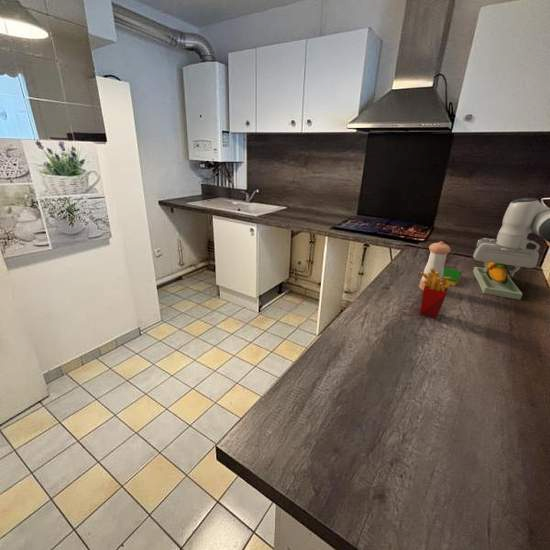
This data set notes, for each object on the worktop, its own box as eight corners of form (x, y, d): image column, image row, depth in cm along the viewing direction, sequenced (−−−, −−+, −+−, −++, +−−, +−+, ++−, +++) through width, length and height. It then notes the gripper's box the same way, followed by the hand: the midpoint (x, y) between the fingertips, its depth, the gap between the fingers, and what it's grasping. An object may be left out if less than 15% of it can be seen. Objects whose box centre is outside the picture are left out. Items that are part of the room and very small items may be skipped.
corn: (507, 256, 123) (517, 271, 106) (503, 273, 125) (511, 290, 109) (486, 254, 126) (492, 269, 110) (482, 271, 129) (488, 287, 113)
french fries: (441, 312, 97) (453, 270, 91) (438, 323, 91) (451, 279, 85) (412, 304, 101) (422, 264, 95) (408, 314, 95) (419, 272, 89)
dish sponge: (460, 276, 126) (462, 271, 125) (454, 286, 116) (456, 281, 116) (442, 272, 130) (444, 267, 130) (435, 281, 121) (436, 276, 120)
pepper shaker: (431, 284, 118) (444, 238, 110) (443, 292, 111) (457, 244, 103) (415, 285, 117) (426, 239, 109) (426, 293, 110) (439, 244, 102)
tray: (472, 271, 132) (474, 266, 131) (503, 276, 128) (505, 271, 127) (483, 293, 112) (485, 287, 111) (520, 299, 107) (522, 294, 106)
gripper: (480, 239, 114) (469, 271, 119) (545, 247, 106) (531, 281, 112) (477, 235, 119) (467, 266, 124) (539, 242, 111) (526, 275, 117)
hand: (498, 273), depth 118 cm, fingers closed on corn, 7 cm apart
